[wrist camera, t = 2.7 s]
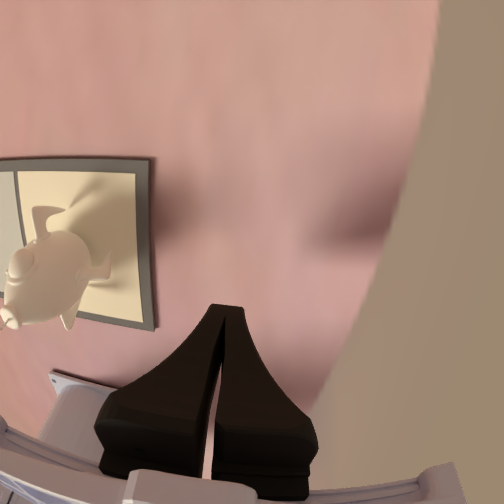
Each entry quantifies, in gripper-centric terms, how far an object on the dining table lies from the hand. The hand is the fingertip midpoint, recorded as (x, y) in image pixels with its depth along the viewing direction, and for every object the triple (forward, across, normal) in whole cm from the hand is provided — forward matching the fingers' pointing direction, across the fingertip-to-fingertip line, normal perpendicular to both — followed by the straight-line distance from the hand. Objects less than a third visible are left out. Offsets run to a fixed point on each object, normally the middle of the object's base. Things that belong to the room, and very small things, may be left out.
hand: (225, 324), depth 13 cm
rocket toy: (+5, +10, 0) cm, 11 cm away
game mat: (+5, +19, 0) cm, 19 cm away
